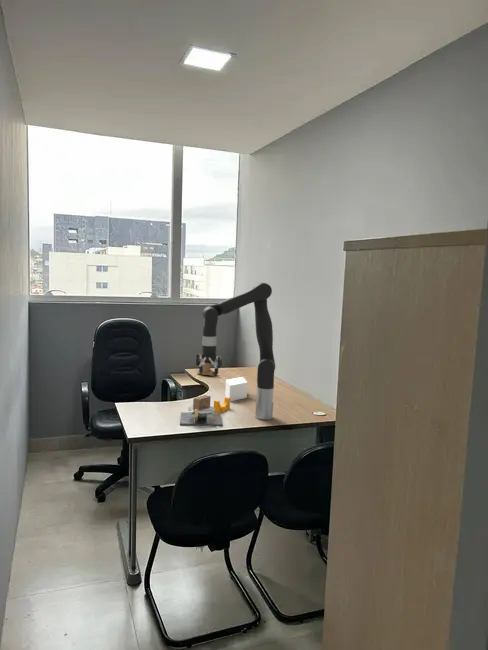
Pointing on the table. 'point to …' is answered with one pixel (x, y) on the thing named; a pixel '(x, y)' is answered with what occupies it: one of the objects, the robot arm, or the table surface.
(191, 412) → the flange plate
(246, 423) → the table surface
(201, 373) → the robot arm
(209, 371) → the tan irregular piece
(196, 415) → the dowel pin
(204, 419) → the post base
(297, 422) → the table surface
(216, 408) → the pipe clamp
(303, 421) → the table surface
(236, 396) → the white block
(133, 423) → the table surface
